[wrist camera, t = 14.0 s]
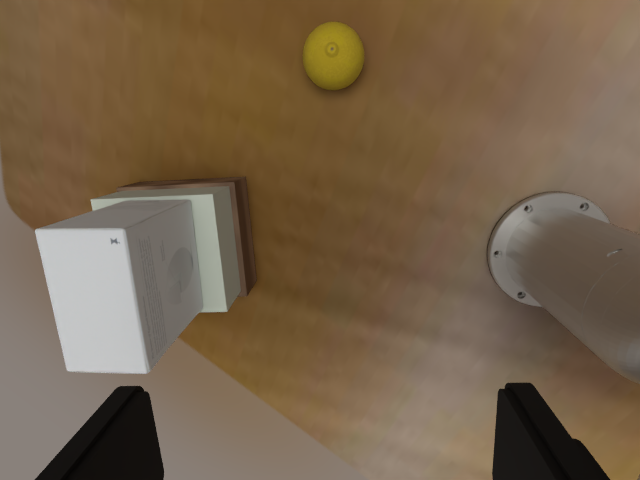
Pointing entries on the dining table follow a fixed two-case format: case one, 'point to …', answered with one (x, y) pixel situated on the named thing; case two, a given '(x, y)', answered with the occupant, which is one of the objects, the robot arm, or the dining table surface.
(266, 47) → the dining table surface
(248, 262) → the walnut slab
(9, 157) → the dining table surface
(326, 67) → the lemon
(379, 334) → the dining table surface
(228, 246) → the grey green slab
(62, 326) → the skincare box
